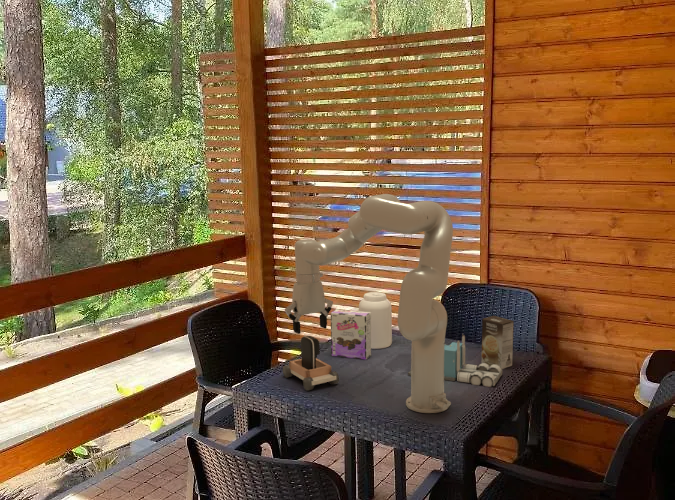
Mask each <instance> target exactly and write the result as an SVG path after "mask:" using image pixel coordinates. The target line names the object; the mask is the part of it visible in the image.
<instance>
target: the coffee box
mask: <svg viewBox="0 0 675 500" xmlns="http://www.w3.org/2000/svg"><path fill="white" fill-rule="evenodd" d="M481 323H482V324H481V325H482V326H481V363H480V364H482V363H486V364H487V365H489V367H490V366H491V365H493V364H494V365H498V366H499V367H500V368H501V370H504V369H507V368H509V367H512V366H513V355H514V353H513V350H514V349H513V348H514V346H513V345H514V326H515V325H514V320H511V319H508V318H504V317H500V316H498V315H497V316H496V315H492V316H487V317H484V318H482V322H481Z"/></svg>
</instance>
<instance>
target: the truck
mask: <svg viewBox="0 0 675 500" xmlns="http://www.w3.org/2000/svg"><path fill="white" fill-rule="evenodd" d="M502 375H503V369H501V368H500V367H499V366H498V365H494V364H493V365H491V366H490V365H487V364H486V363H479V365H477V364H469V363H466V336H465V334H462V337H461V342H460V340H457V341H452V342H451V343H450V344H449V345H447V344H446V343H445V344H444V381H450V382H455V381H456V380H457V382H461V383H468V384H469V383H471V385H473V386H480V385H481V384H482V386H484V387H488V388H492V387H495V386H496V385H497V383H498V381H499V380H500V378H501V377H502ZM407 376H409V377H411V369H410V370H409V371H408V372H407Z"/></svg>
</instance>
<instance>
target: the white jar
mask: <svg viewBox="0 0 675 500" xmlns="http://www.w3.org/2000/svg"><path fill="white" fill-rule="evenodd" d="M391 303H392V302H391V301H390V300H389V299H388V298H387V294H386V293H385V292H381V291H370V292H366V293H364V294H363V299H361V300H360V301H359V304H358V311H360V312H371V350H373V349H374V350H376V349H377V350H378V349H379V350H380V349H385V348H388V347H390V346H391V345H392V343H393V334H392V333H393V332H392V331H393V330H392V329H393V325H392V322H393V321H392V320H393V319H392V318H393V316H392V315H393V314H392V312H393V310H392V304H391Z"/></svg>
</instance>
